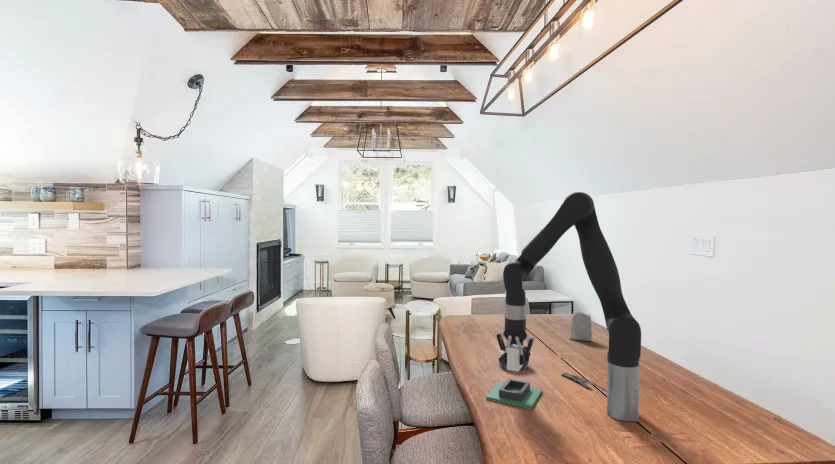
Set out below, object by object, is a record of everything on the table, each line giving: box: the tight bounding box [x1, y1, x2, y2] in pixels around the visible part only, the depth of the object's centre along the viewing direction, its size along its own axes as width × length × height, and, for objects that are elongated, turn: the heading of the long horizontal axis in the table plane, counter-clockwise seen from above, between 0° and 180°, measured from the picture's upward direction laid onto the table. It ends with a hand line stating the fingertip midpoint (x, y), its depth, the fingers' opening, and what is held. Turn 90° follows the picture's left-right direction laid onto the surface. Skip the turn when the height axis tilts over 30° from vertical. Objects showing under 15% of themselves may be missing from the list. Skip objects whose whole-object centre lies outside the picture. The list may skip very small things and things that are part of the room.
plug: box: [506, 344, 522, 373], centre depth 148 cm, size 4×7×8 cm, turn 151°
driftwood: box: [561, 372, 607, 394], centre depth 161 cm, size 21×7×2 cm, turn 19°
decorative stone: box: [569, 310, 593, 342], centre depth 219 cm, size 11×6×15 cm, turn 58°
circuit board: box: [485, 378, 543, 410], centre depth 149 cm, size 16×16×4 cm
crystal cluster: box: [498, 345, 531, 371], centre depth 180 cm, size 13×14×10 cm
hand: (514, 363), depth 149 cm, fingers closed on plug, 4 cm apart
